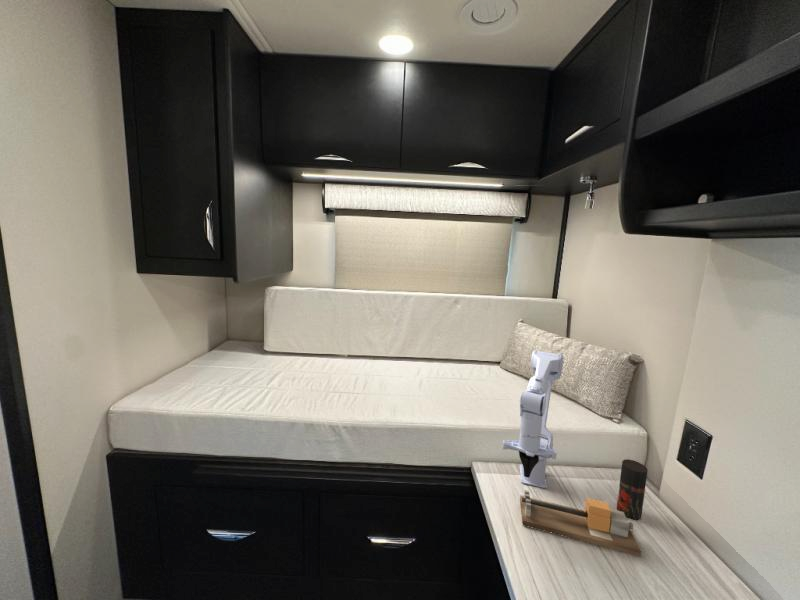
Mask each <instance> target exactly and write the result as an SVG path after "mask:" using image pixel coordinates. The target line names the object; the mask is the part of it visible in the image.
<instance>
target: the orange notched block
mask: <svg viewBox="0 0 800 600" xmlns="http://www.w3.org/2000/svg"><path fill="white" fill-rule="evenodd" d="M585 500H586V501H585V504H584V512H586V513H588V518H586V517H584V518H585V521H586V523H587V526H588V527H589V528H593V529H596V530H600V531H604V532H608V533H609V529H610V521H611V519H610V514H611V510H610V509H611V508H610V505H609V504H608V502H605V501H600V500H598V499H593V498H588V497H586V499H585Z"/></svg>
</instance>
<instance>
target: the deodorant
mask: <svg viewBox="0 0 800 600" xmlns="http://www.w3.org/2000/svg"><path fill="white" fill-rule="evenodd" d="M648 471H649V469H648V468H647V466H646V465H644V464H643V463H641V462H639V461H636V460H633V459H629V458H628V459H623V460H622V462H621V469H620V478H619V485H618V494H617V502H616V510H617V511H621V512H624V514H625V516H626V518H627V519H628V520H632V521H640V520H642V514H643V506H644V501H645V500H644V499H645V491H646V483H647V479H648V478H647V477H648Z"/></svg>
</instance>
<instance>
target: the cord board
mask: <svg viewBox="0 0 800 600" xmlns="http://www.w3.org/2000/svg"><path fill="white" fill-rule="evenodd" d="M519 502H520V503H519V505H520V513H521V514H520V515H522V516H521V523H522V524H523V525H525V526H524V527H527V526H529V527H528V528H531V527H533V528H532V529H534V528H536V529H535V530H538V529H540V530H539V531H542V530H545V531H544V532H546V531H547V532H546V533H549V532H552V533H551V534H553V533H555V534H554V535H557V534H559V535H558V536H561V535H563V536H562V537H565V536H566V537H565V538H568V537H570V538H569V539H572V538H574V539H573V540H576V539H577V540H576V541H580V540H582V541H581V542H583V541H585V542H584V543H587V542H588V544H592V545H596V546H599V547H602V548H606V549H611V550H614V551H618V552H620V553H621V552H622V553H626V554H630V555H632V556H637V557H642V549H641V548H640V545H639V544H638V542H637V540H636V538H635V536H634V534H633V533H632V530H634V524H633V522H631V521H629V519H628V518H626V516H625V514H624V512H621V511H618V510H617V509H612V508H610V510H611V514H610V519H611V521H610V529H609V533H608V532H604V531H600V530H596V529H593V528H589V527H588V526H587V523H586V521H585V518H584V517H586V518H588V513H586V512H584V511H585V509H583V510H582V509H579V508H575V507H571V506H567V505H562V504H557V503H554V502H551V501H550V502H549V501H545V500H541V499H537V498H532V497H531V495H530V491H529V490H524V495H520V496H519ZM523 525H522V526H523Z"/></svg>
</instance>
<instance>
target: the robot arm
mask: <svg viewBox="0 0 800 600" xmlns="http://www.w3.org/2000/svg"><path fill="white" fill-rule="evenodd" d="M530 365H531V370H532V374H533V375H534V376H532V377H530V378H529V380H528V384H527V386H526V390H525V392H523V391H522V392H521V395H520V399H519V416H520V427H519V438H518V440H507V439H503V441H502V450H513V451H517V452H518V455H519V460H520V462H521V464H520V465H519V474H520V482H521V483H522V484H523V485H524V484H525V485H529V486H534V487H538V488H541V489H548V484H547V480H546V469H547V460H550V459H552V460H557V451H556V449H553V448H554V447H553V446H554V436H553V434H552V432H551V431H550V430H549V429H548V428H547V422H548V415H549V408H550V402H551V401H550V399H551V393H552V388H553V384H554V382H555V381H557V380H560V379H561V377H562V372H563V367H564V355H563V354H559V353H552V352H547V351H541V350H537V349H534V350H533V352H532V353H531V359H530Z"/></svg>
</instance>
